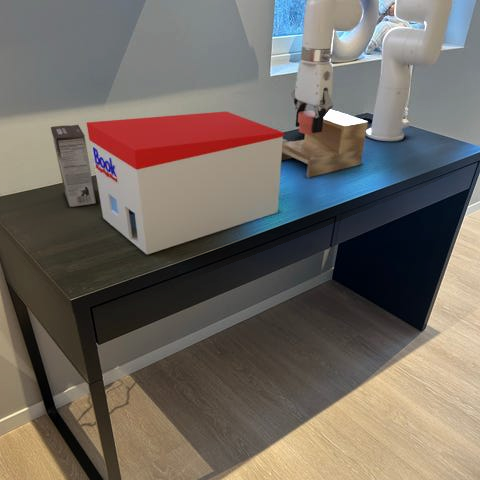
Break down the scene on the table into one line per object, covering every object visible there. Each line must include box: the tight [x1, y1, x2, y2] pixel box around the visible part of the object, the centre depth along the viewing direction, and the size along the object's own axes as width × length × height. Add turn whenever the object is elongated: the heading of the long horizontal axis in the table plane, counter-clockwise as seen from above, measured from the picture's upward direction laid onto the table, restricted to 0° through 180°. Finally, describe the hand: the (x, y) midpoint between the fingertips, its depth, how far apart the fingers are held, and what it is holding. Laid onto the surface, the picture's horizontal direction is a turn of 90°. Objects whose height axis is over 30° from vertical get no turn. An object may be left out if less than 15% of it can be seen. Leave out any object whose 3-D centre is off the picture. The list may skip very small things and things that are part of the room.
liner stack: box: [298, 110, 316, 135], centre depth 132 cm, size 6×6×5 cm
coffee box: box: [50, 124, 97, 208], centre depth 113 cm, size 9×6×16 cm
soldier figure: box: [276, 128, 294, 144], centre depth 150 cm, size 8×5×12 cm
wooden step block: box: [281, 108, 369, 178], centre depth 138 cm, size 20×16×12 cm
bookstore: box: [86, 111, 284, 255], centre depth 105 cm, size 21×35×21 cm, turn 127°
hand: (308, 128), depth 133 cm, fingers closed on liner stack, 6 cm apart
